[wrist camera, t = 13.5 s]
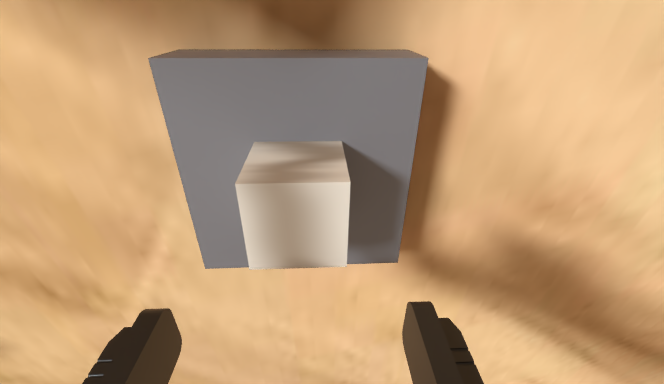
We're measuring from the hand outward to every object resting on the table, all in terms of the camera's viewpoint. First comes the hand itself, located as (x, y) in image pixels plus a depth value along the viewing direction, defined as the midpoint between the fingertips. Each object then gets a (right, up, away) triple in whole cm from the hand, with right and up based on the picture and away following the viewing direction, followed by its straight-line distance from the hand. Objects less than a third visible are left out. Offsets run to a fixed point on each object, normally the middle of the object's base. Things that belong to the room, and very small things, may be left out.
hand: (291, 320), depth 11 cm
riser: (-1, +7, +12) cm, 14 cm away
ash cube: (-1, +5, +8) cm, 10 cm away
